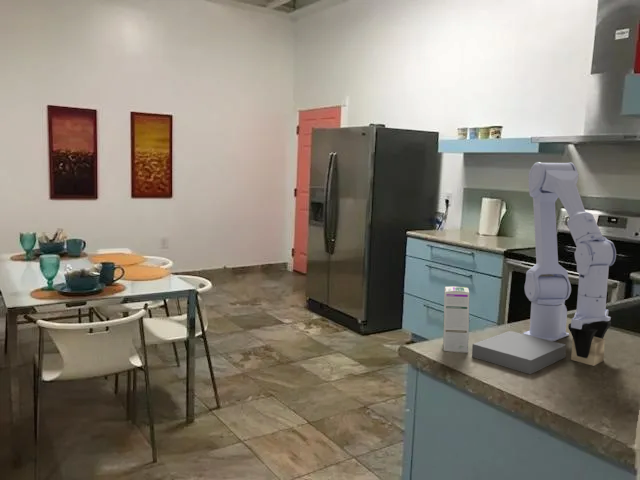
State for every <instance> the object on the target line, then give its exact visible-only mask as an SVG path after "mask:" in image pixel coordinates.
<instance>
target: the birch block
mask: <svg viewBox="0 0 640 480" xmlns="http://www.w3.org/2000/svg"><path fill="white" fill-rule="evenodd" d="M605 345H606V339H605V338H603V339H602V338H598V337H593V339H592V342H591V347H590V352H589V355H588V357H587V358H583V357H579V356H577V354H576V348H575V343H574V339H573V338H572V342H571V354H570V357H571V358H570V360H571V361H575V362H578V363H582V364H586V365H590V366H596V365H598V364H600V363H602V362H604V359H605V358H604V357H605V347H606V346H605Z"/></svg>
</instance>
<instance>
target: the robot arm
mask: <svg viewBox="0 0 640 480" xmlns="http://www.w3.org/2000/svg"><path fill="white" fill-rule="evenodd" d="M579 175H580V174H579V172H578V169H577V166H576V165H575V164H574V162H571V161H569V162H541V161H536V162H535V163H534V164H532V166H531V168H530V170H529V172H528V191H529V192H528V193H529V197H531V198H532V203H533V205H532V206H533V225H534V240H535V241H534V242H535V243H534V244H535V245H534V246H535V259H536V260H535V261H536V262H535V264H534V265H533V266H532V267H531V268H529V269H528V270H526V273H525V283H524V294H525V296H526V298H527V299H528V301H530V302H531V304H530V319H529V330H526V331H524V332H522V334H525V335H529V336H533V337H537V338H541V339H545V340H549V341H553V342H557V341H558V340H561V339H563V338H565V337H568V336H569V335H570V334H571V337H572V339H574V343H575V348H576V354H577V356H579V357H583V358H587V357H588V355H589V352H590V347H591V342H592V339H593V337H598V338H602V339H604V337H605V335H606V333H607V331H608V330H609V329H610V327H611V326H612V321H611V318H612V317H611V316H609V309H607V308H606V306H607V295H608V285H609V284H608V282H609V269H610V267H612V266H613V265H614V264H615V262H616V258H617V250H616V247H615V244H614V242H613V241H611V240H609V239H608V238H607V237H606V236H603V235H602V232H601V230H600V228H599V225H598V223H597V221H596V219H595V216H594V215H593V214H592V213H591V212H588V211H586V209H585V207H584V203H583V200H582V198H581V195H580V192H579V189H578V186H577V184H578V182H579V181H578V180H579ZM558 199H559V201H560V202H561V204H562V207H564V209H565V212H567V215H568V217H569V219H567V222H566V224H567V227H568V230H569V232H570V235H571V237H572V239H573V241H574V244H575V246H576V248H575V251H574V260H575V263H576V271H577V272H576V273H577V274H578V286H577V301H576V311H575V313H574V316H573V317H572V318H571V319H570V320H571V321H570V323H568V325H567V321H568V320H567V318H568V309H567V306H566V305H565V304H566V300H568V299H569V298H570V295H571V293H572V285H571V284H572V283H571V282H570V279H569V273H568V272H569V271H568V270H567V269H566V268H564V267H563V266H562V265H560V263H559V255H558V250H559V249H558V235H557V233H558V232H557V219H556V218H557V215H556V214H557V213H556V202H557V200H558ZM543 275H544V276H543ZM545 275H548V276H545ZM549 275H551V276H549ZM567 327H568V331H569V332H570V333H569V332H566V331H567Z"/></svg>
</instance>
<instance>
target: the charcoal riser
mask: <svg viewBox="0 0 640 480" xmlns="http://www.w3.org/2000/svg"><path fill="white" fill-rule="evenodd" d="M471 351H472V352H471V354H472V355H471V357H472V358H474V359H475V358H476V359H479V360H481V361H486V362H488V363H492V364H493V365H494V364H495V365H499V366H502V367H504V368H508V369H511V370H515V371H518V372H522V373H525V374H528V375H532V374H534V373H535V372H538V371H540V370H542V369H544V368H546V367H548V366H550V365H553V364H555V363H556V362H557V363H558V361H561V360H564V359H565V358H566V355H567V344H564V343H561V342H557V341H549V340H545V339H541V338H537V337H533V336H529V335H525V334H523V333H520V332H516V331H512V330H508V331H506V332H502V333H500V334H496V335H494V336H490V337H489V338H486V339H483V340H481V341H477V342H475V343H472V349H471Z"/></svg>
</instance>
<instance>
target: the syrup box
mask: <svg viewBox="0 0 640 480" xmlns="http://www.w3.org/2000/svg"><path fill="white" fill-rule="evenodd" d="M470 294H471V293H470V290H469V287H466V286H458V285H457V286H453V285H452V286H444V295H443V332H442V333H443V335H442V340H443V341H442V342H443V343H442V344H443V345H442V346H443V349H442V350H443V351H445V352H450V353H465V354H466V353H468V352H469V336H470V335H469V334H470V333H469V331H470V296H471V295H470Z"/></svg>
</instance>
